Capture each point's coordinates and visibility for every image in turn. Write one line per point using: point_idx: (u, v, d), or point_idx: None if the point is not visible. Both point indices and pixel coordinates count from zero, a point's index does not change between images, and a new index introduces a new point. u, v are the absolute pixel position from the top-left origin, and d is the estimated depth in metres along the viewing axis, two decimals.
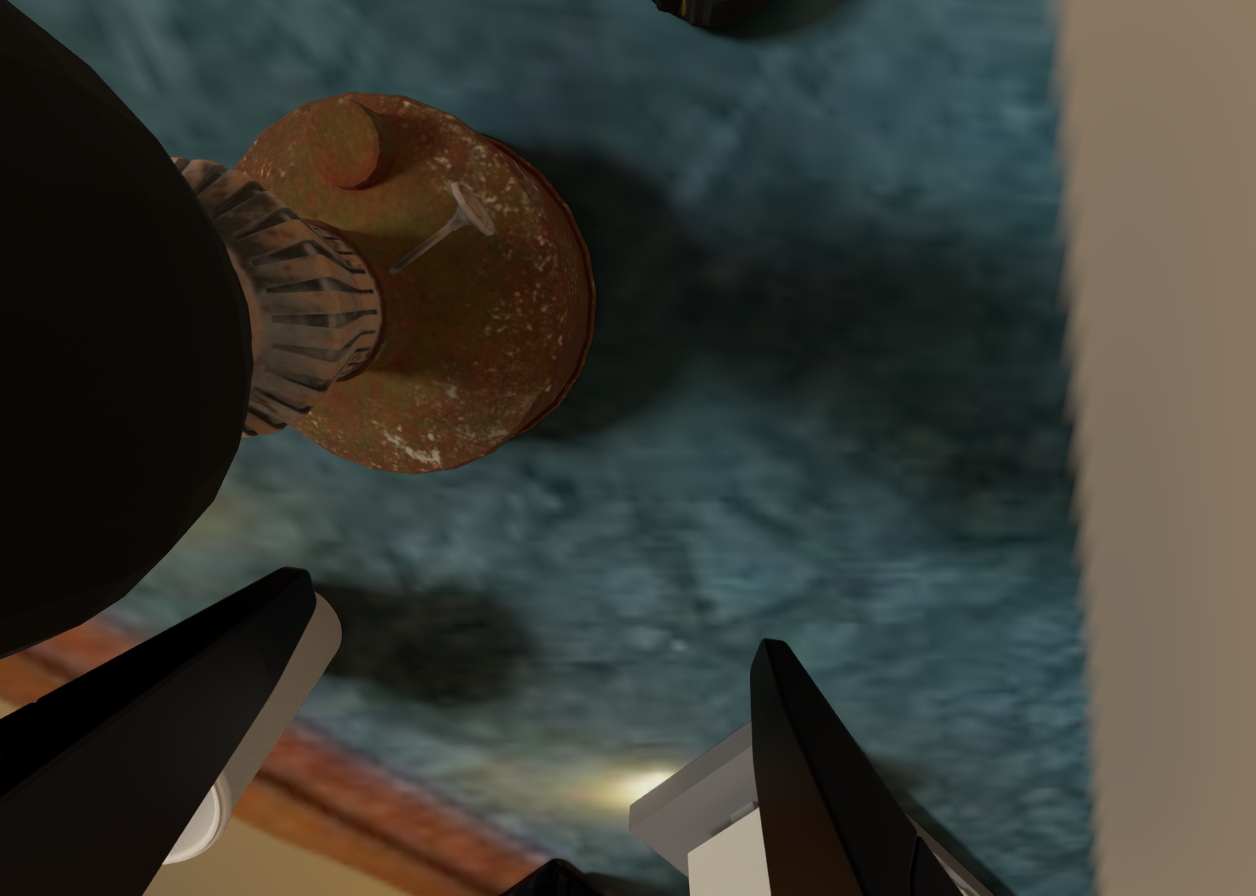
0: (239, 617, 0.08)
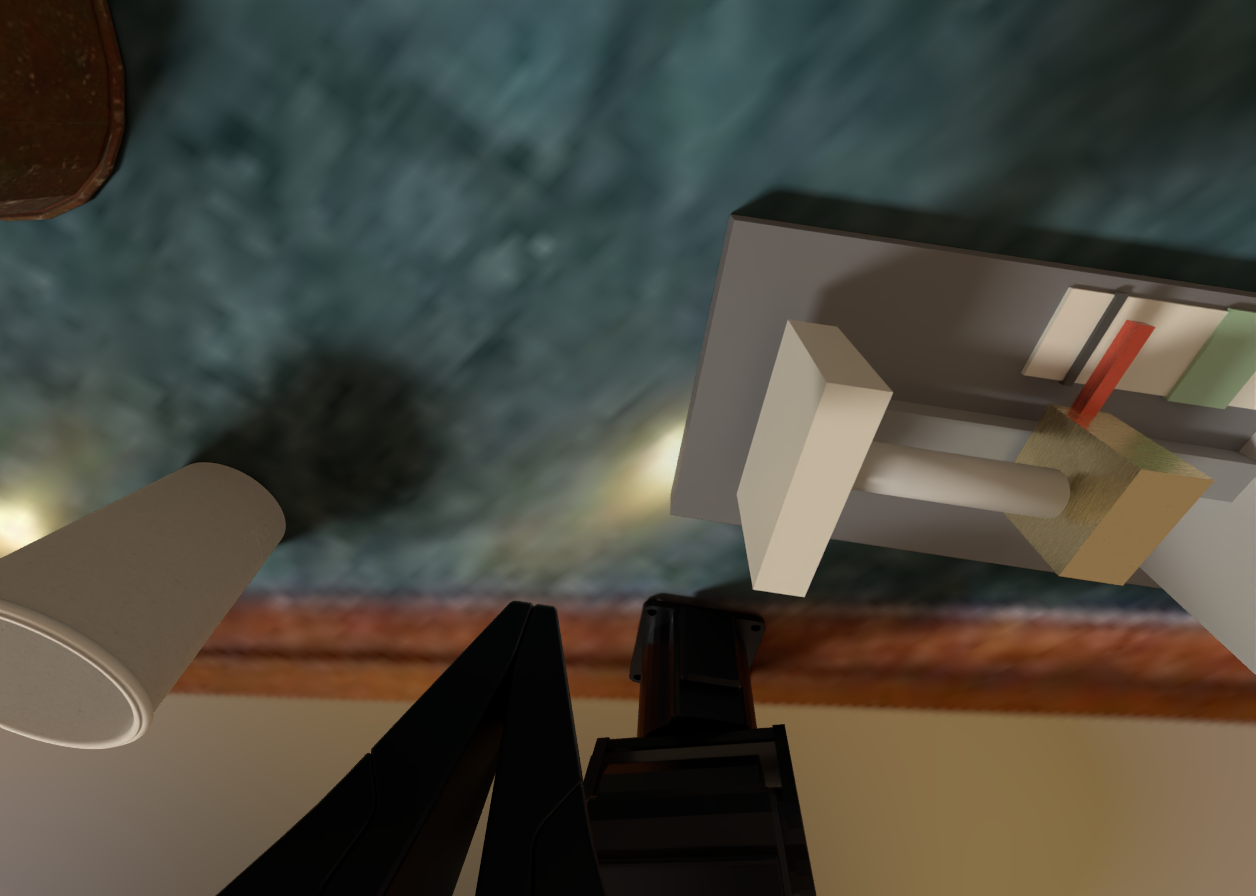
0: (503, 657, 0.08)
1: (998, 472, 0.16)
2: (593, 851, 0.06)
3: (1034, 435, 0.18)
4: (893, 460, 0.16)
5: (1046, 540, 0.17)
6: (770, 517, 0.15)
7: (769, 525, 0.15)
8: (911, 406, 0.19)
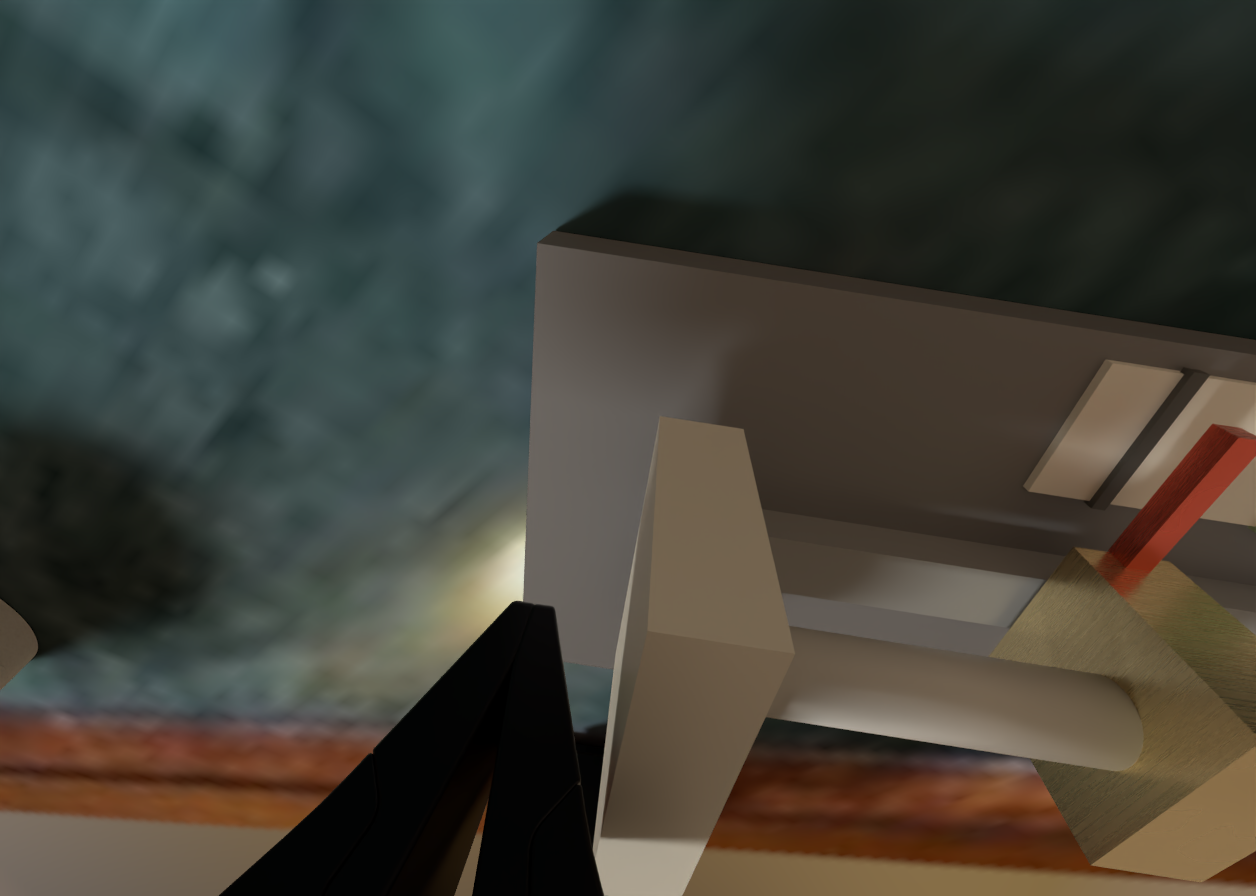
0: (505, 657, 0.08)
1: (1017, 701, 0.09)
2: (590, 851, 0.06)
3: (1046, 592, 0.11)
4: (830, 679, 0.09)
5: (1068, 786, 0.10)
6: (606, 789, 0.08)
7: (604, 803, 0.08)
8: (851, 532, 0.12)
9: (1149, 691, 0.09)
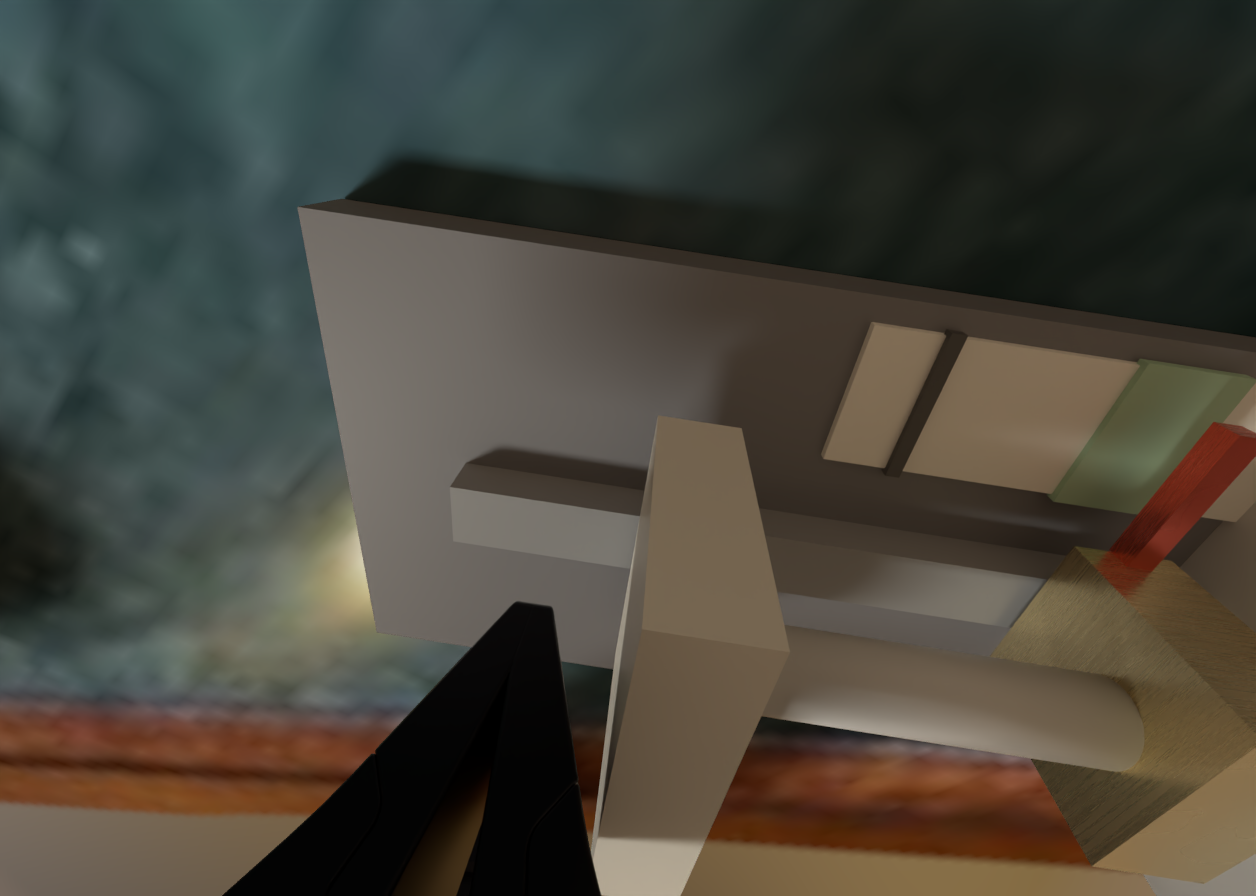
0: (507, 657, 0.08)
1: (1016, 701, 0.09)
2: (587, 850, 0.06)
3: (1047, 592, 0.11)
4: (828, 679, 0.09)
5: (1069, 786, 0.10)
6: (604, 787, 0.08)
7: (602, 802, 0.08)
8: None
9: (1150, 691, 0.09)
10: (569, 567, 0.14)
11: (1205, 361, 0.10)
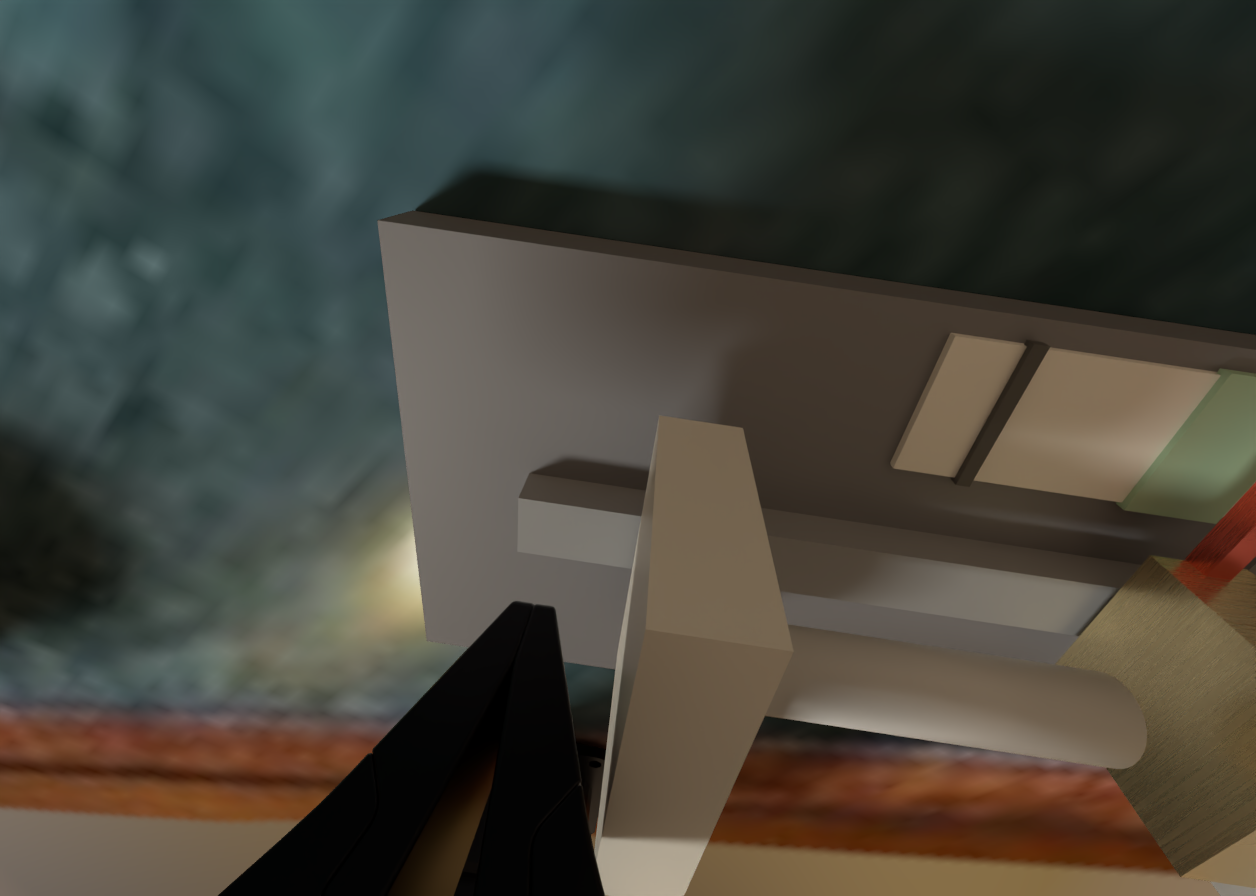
0: (504, 657, 0.08)
1: (1019, 699, 0.09)
2: (591, 851, 0.06)
3: (1120, 600, 0.11)
4: (831, 678, 0.09)
5: (1151, 796, 0.10)
6: (607, 788, 0.08)
7: (605, 803, 0.08)
8: None
9: (1243, 702, 0.09)
10: (626, 575, 0.14)
11: None
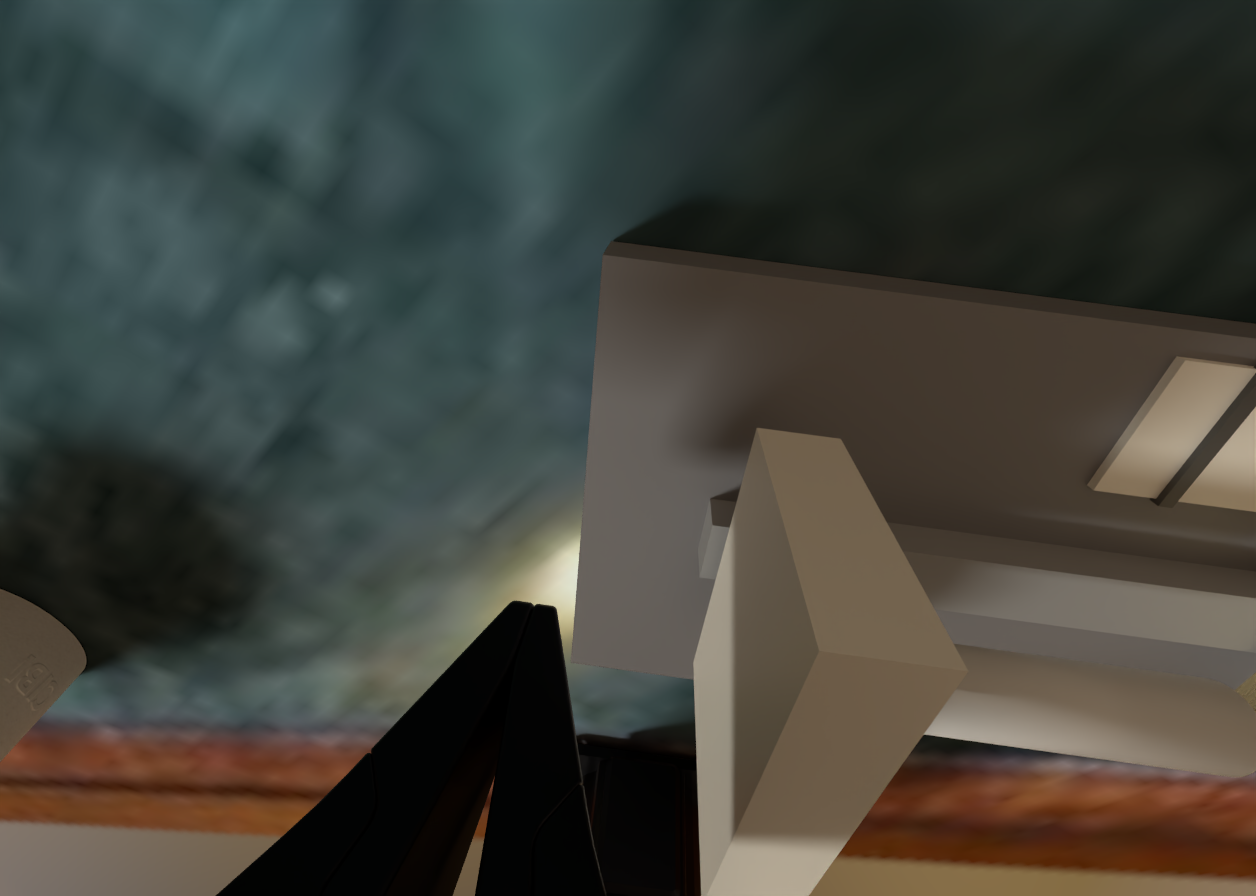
0: (503, 657, 0.08)
1: (1135, 707, 0.09)
2: (593, 851, 0.06)
3: None
4: None
5: None
6: (725, 803, 0.08)
7: (724, 817, 0.08)
8: (912, 535, 0.12)
9: None
10: None
11: None
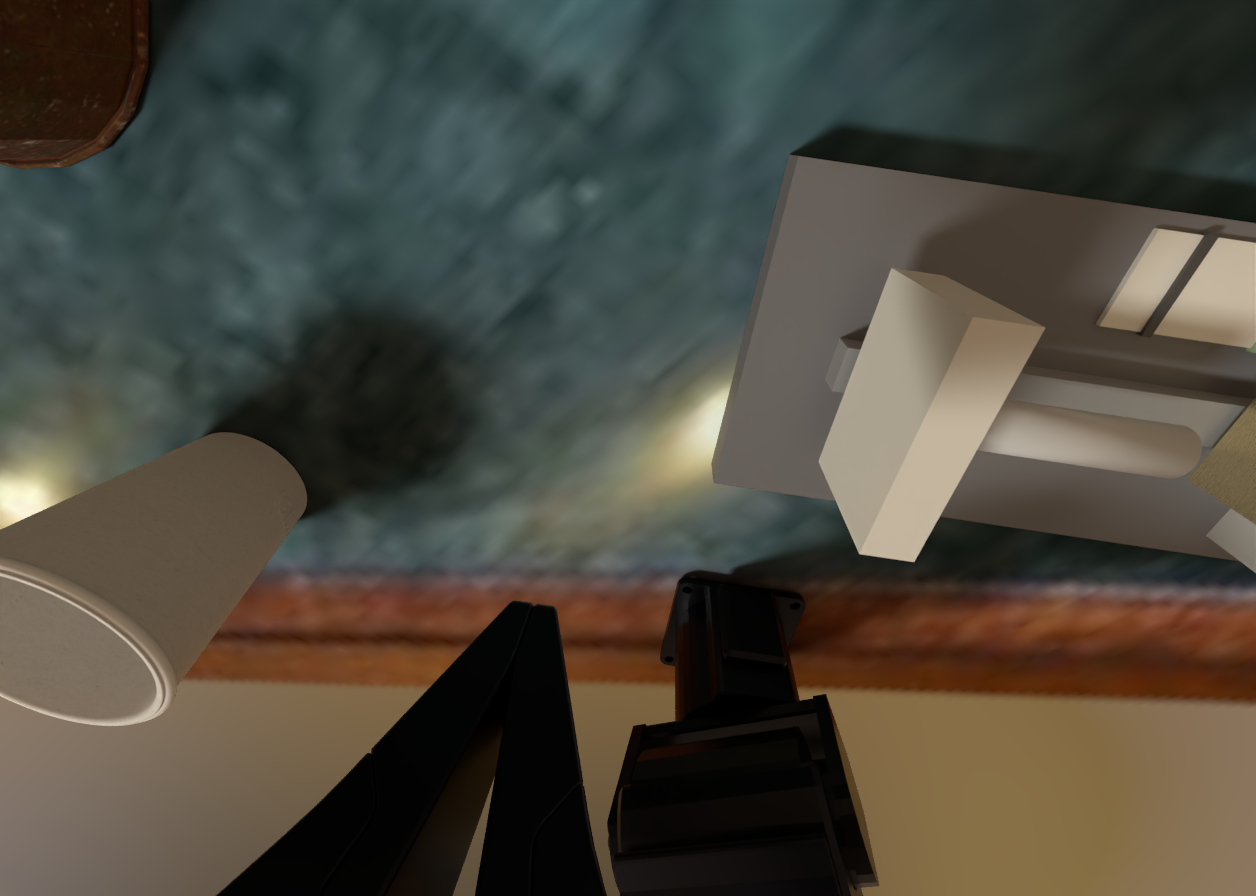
0: (503, 657, 0.08)
1: (1124, 427, 0.15)
2: (593, 851, 0.06)
3: (1251, 410, 0.17)
4: (1012, 414, 0.15)
5: None
6: (882, 475, 0.14)
7: (882, 483, 0.14)
8: None
9: None
10: None
11: None
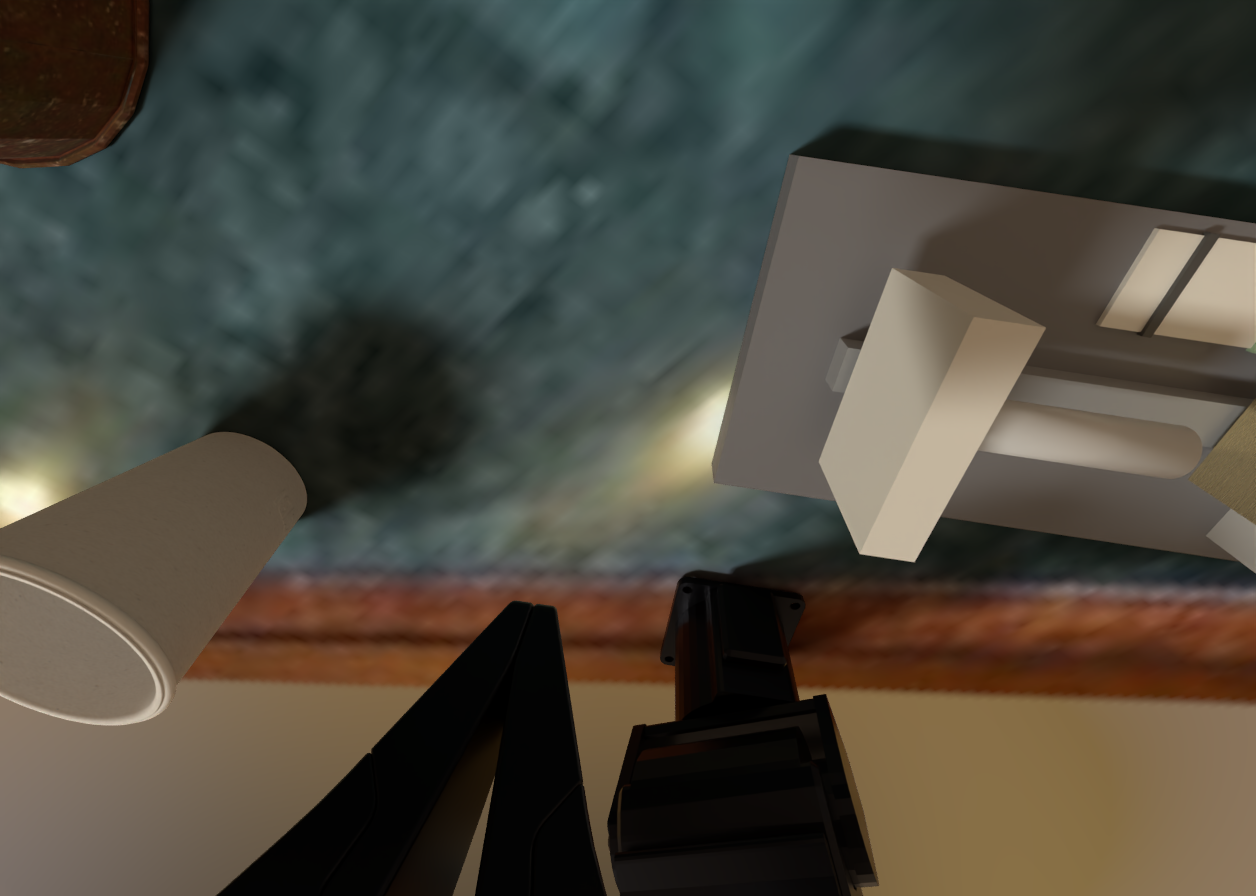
0: (503, 657, 0.08)
1: (1125, 428, 0.15)
2: (593, 851, 0.06)
3: (1251, 411, 0.17)
4: (1012, 414, 0.15)
5: None
6: (883, 475, 0.14)
7: (882, 483, 0.14)
8: None
9: None
10: None
11: None
